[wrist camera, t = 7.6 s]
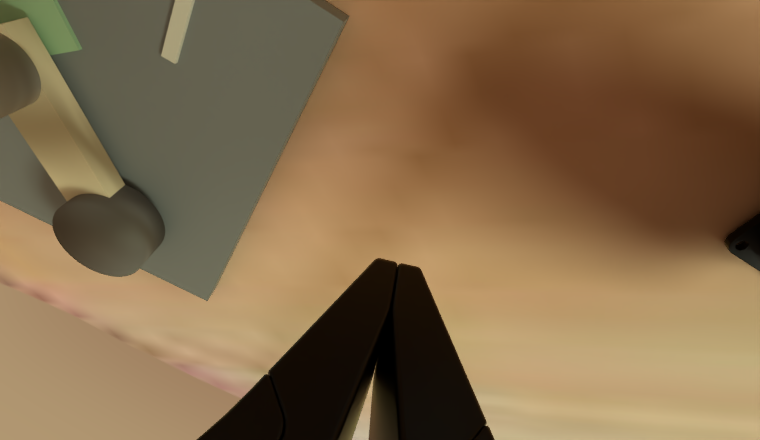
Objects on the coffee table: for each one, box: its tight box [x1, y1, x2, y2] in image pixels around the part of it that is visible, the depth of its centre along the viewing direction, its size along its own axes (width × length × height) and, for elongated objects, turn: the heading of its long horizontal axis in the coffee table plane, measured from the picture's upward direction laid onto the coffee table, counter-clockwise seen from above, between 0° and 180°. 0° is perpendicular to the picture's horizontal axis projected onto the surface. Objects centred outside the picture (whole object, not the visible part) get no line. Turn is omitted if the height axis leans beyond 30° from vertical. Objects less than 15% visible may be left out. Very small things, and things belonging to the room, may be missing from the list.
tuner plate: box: [0, 0, 349, 301], centre depth 21 cm, size 18×18×1 cm
